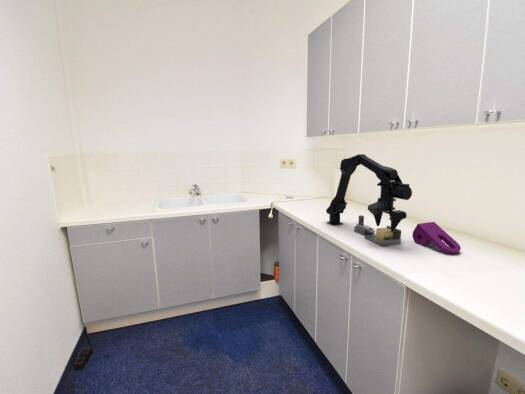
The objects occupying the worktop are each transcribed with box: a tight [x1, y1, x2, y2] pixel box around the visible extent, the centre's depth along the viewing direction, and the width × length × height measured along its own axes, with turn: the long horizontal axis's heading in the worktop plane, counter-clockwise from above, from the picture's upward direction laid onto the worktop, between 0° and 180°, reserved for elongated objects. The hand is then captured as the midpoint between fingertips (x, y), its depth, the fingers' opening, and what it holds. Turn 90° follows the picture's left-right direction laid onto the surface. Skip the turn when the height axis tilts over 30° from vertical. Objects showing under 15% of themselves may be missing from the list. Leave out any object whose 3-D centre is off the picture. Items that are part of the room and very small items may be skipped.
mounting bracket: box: [412, 221, 462, 256], centre depth 120 cm, size 10×8×18 cm
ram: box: [355, 215, 376, 234], centre depth 139 cm, size 12×3×7 cm, turn 18°
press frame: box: [352, 225, 402, 248], centre depth 134 cm, size 24×12×6 cm, turn 18°
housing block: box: [375, 227, 393, 241], centre depth 127 cm, size 5×5×5 cm
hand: (384, 228), depth 126 cm, fingers open, 9 cm apart
